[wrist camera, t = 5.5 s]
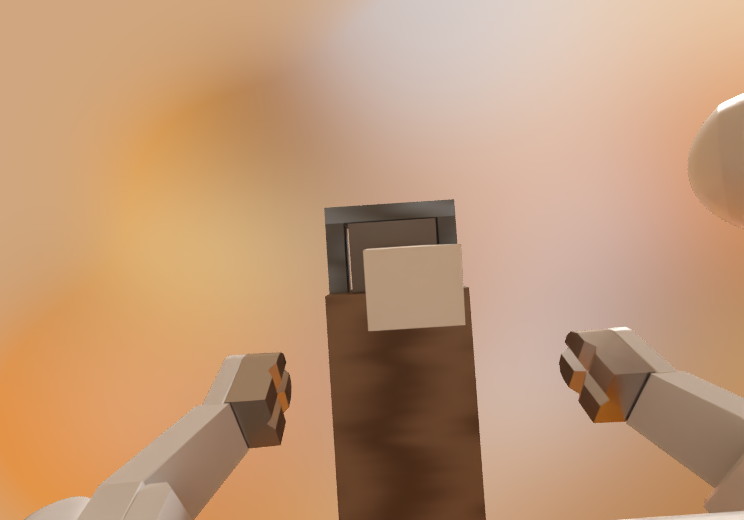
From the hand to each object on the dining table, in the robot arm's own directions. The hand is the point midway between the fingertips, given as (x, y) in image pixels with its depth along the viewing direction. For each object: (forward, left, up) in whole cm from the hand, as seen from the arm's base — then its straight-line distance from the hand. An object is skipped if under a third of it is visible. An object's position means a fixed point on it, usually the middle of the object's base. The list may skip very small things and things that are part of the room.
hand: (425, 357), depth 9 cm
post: (0, -11, -25) cm, 27 cm away
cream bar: (0, -7, +1) cm, 7 cm away
